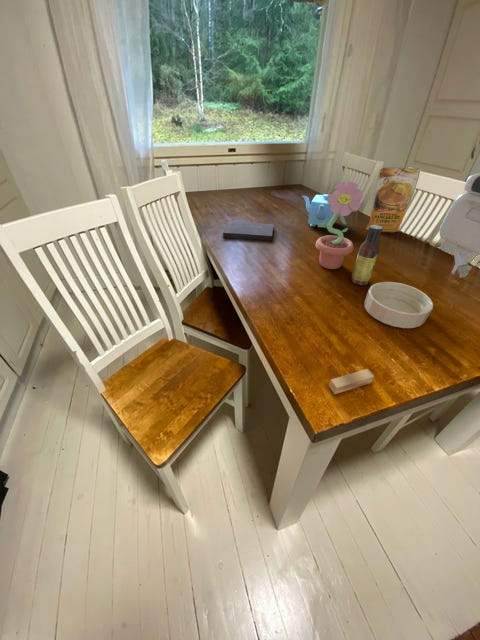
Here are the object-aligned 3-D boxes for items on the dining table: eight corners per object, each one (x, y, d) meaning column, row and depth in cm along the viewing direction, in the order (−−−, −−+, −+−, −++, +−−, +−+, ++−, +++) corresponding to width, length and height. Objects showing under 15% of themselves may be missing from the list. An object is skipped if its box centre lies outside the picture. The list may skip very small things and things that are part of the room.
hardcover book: (229, 225, 141) (229, 221, 140) (273, 228, 139) (273, 224, 137) (223, 237, 129) (222, 232, 128) (271, 241, 126) (271, 236, 125)
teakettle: (324, 217, 154) (330, 188, 145) (346, 228, 140) (354, 198, 131) (295, 221, 148) (299, 192, 139) (316, 233, 135) (321, 202, 125)
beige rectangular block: (364, 375, 65) (367, 368, 63) (371, 383, 63) (374, 376, 62) (328, 386, 62) (330, 379, 61) (334, 394, 60) (336, 387, 59)
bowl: (428, 307, 86) (436, 293, 83) (420, 337, 75) (428, 322, 72) (371, 290, 94) (377, 276, 91) (356, 315, 83) (362, 300, 80)
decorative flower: (304, 267, 107) (319, 184, 88) (314, 254, 116) (329, 176, 97) (343, 276, 101) (368, 190, 82) (350, 261, 111) (374, 181, 92)
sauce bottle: (371, 286, 96) (391, 231, 84) (353, 286, 96) (370, 230, 84) (364, 277, 101) (382, 223, 89) (347, 276, 101) (363, 223, 89)
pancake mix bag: (360, 226, 142) (378, 166, 125) (398, 228, 141) (421, 167, 124) (363, 231, 137) (382, 168, 120) (403, 233, 136) (427, 170, 118)
